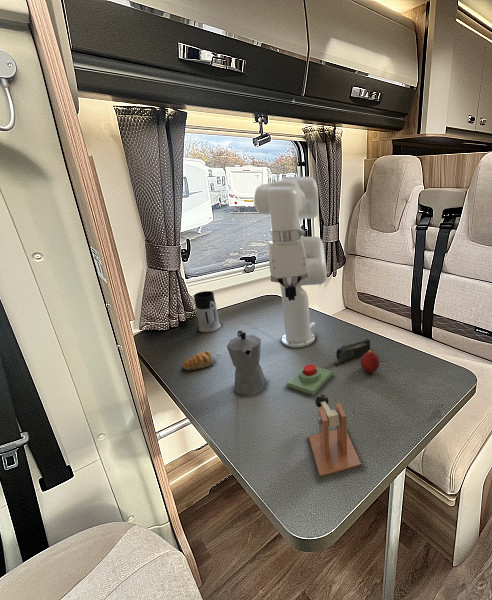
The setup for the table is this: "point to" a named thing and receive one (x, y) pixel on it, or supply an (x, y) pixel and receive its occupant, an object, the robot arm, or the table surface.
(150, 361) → the table surface
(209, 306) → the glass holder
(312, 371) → the button
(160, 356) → the table surface
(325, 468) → the switch bracket
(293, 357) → the table surface
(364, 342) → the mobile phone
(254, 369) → the coffeepot
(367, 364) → the onion
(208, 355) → the pastry
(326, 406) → the switch lever
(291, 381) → the control block
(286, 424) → the table surface
